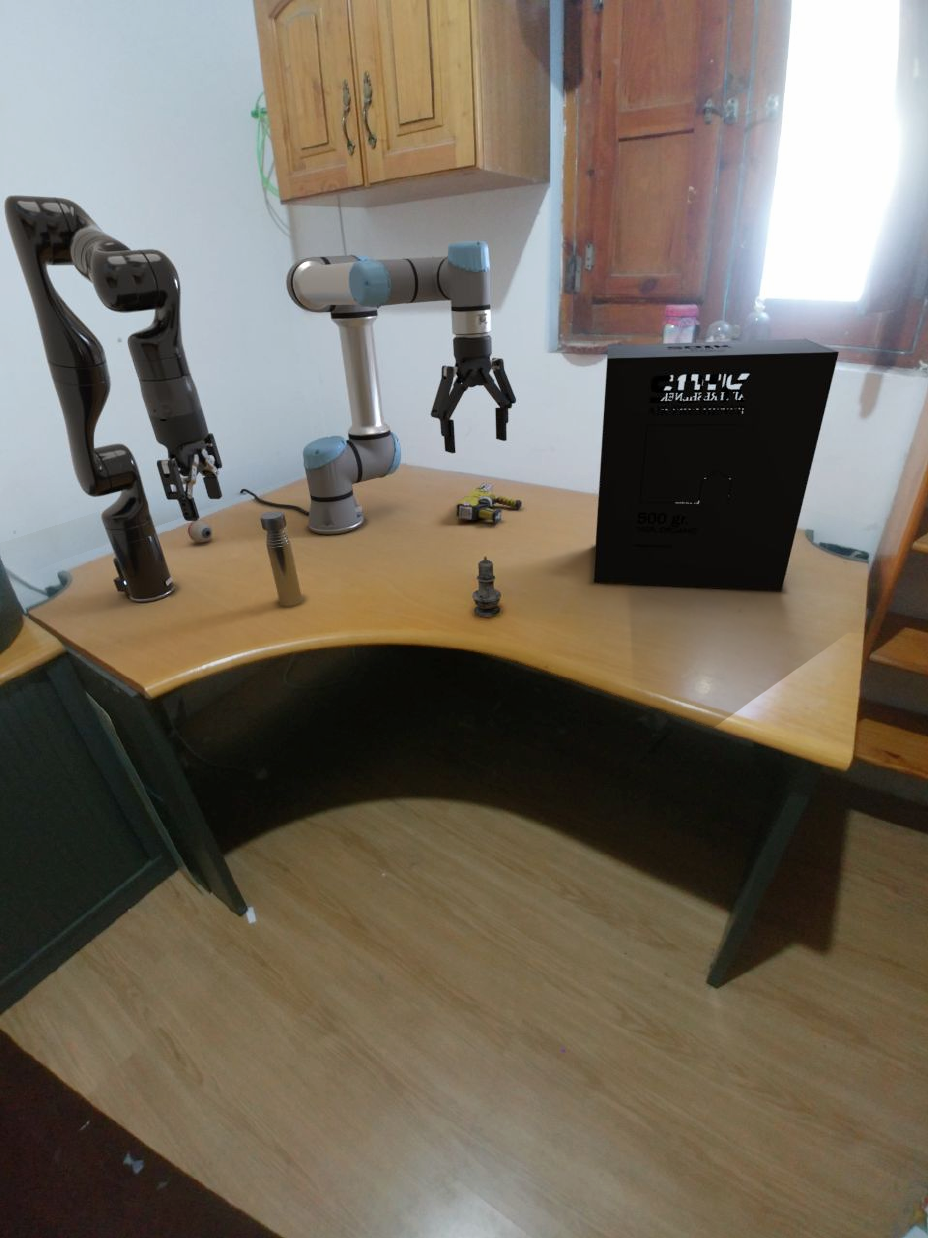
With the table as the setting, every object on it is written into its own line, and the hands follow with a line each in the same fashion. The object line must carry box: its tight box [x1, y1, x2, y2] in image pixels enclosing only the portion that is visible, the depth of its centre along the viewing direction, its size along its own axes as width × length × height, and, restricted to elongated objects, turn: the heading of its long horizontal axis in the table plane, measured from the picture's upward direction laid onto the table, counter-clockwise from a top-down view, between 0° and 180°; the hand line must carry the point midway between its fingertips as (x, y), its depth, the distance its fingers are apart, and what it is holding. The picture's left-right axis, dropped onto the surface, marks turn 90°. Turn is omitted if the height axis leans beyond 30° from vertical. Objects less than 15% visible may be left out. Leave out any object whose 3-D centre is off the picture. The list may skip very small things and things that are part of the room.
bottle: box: [265, 527, 303, 608], centre depth 126 cm, size 5×5×19 cm
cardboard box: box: [593, 338, 840, 592], centre depth 124 cm, size 38×20×45 cm, turn 78°
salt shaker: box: [471, 555, 502, 618], centre depth 119 cm, size 6×6×12 cm
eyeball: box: [187, 519, 213, 544], centre depth 162 cm, size 6×6×6 cm
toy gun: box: [455, 482, 523, 525], centre depth 172 cm, size 5×24×15 cm
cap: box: [259, 510, 287, 532], centre depth 121 cm, size 5×5×3 cm
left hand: (204, 508), depth 99 cm, fingers open, 8 cm apart
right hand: (476, 445), depth 127 cm, fingers open, 13 cm apart
